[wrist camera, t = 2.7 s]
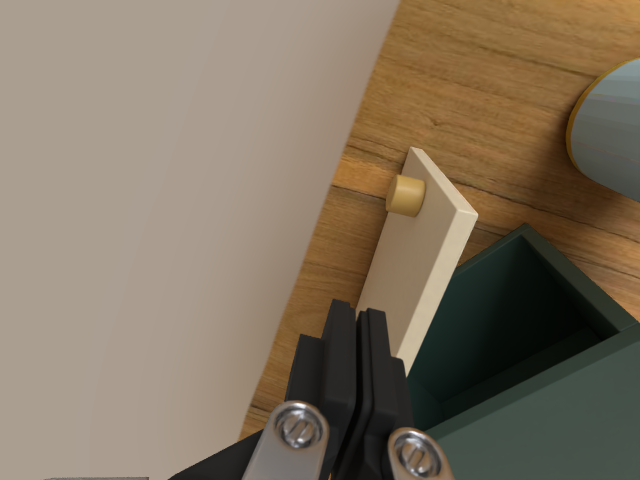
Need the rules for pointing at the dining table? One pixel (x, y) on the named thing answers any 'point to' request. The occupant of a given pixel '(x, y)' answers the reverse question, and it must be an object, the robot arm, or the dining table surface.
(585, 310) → the cupboard
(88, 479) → the robot arm
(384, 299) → the door
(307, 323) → the dining table surface
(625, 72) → the bottle
